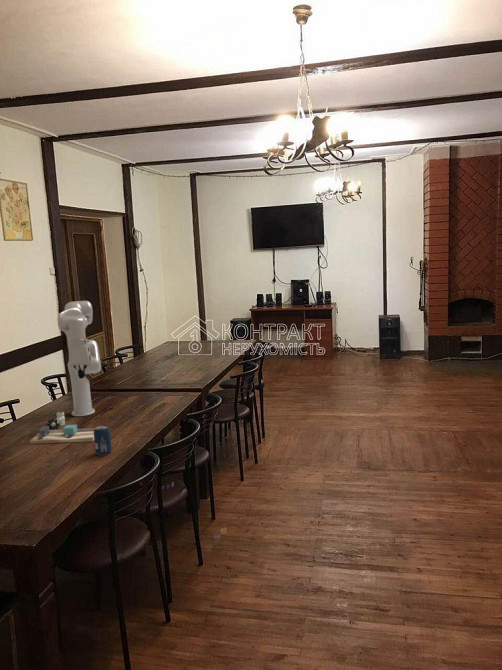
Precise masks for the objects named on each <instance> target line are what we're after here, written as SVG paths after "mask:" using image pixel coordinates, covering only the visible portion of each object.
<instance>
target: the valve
mask: <svg viewBox="0 0 502 670" xmlns="http://www.w3.org/2000/svg"><path fill="white" fill-rule="evenodd" d="M47 426H49V430H60V427H59V426H61V427H62V426H66V417H65V411H58V412H56V418H55V419H54V417H52V418H51V419H48V420H47V423H46V427H47Z"/></svg>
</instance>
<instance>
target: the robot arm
mask: <svg viewBox="0 0 502 670" xmlns="http://www.w3.org/2000/svg"><path fill="white" fill-rule="evenodd" d="M93 312H94V311H93V305H92V303H91V302H90V301H88V300H77V301H69V302H67V303H66V304H65V306H64V310H63V311H61V312H60V313H59V314H58V315H57V327H58V329H59V330H60V331H62V332H64V334H65V336H66V339H67V347H68V362H67V369H68V372H69V377H70V383H71V393H72V401H73V410H72V412H71V415H72V416H73V417H84V416H89V415H93V414H94V413H96V409H95V408H93V406H92V405H93V402H92V397H91V389H90V388H91V387H90V386H91V383H90V380H89V379H88V378H87V377H86V375H90V374H96V373H100V371H101V370H102V362H101V357H100V349H99V345H98V343H97V341H96V340H94V339H87V337H86V328H87V327H88V325H91V324H92V323H93Z"/></svg>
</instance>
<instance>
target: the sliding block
mask: <svg viewBox="0 0 502 670" xmlns="http://www.w3.org/2000/svg"><path fill="white" fill-rule="evenodd" d="M77 429H78V424H65V425H64V426H63V428H62V430H63V433H64V435H66V437H68V435H74V434H75V433H76V432H78V431H77Z"/></svg>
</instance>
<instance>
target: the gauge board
mask: <svg viewBox="0 0 502 670" xmlns="http://www.w3.org/2000/svg"><path fill="white" fill-rule="evenodd" d="M94 430H95V427H94V428H77V431H78V432H76V433H75V434H74V435H68V437H66V435H64V433H63V429H55V430H52V429H50V430H49V426H47V425H46V426H42V427H40V428H39V429H38V433H37V434H36V435H35V436H34V437H33V438H31V439H30V440H29V444H30V445H33V444H34V445H35V444H54V443H56V444H57V443H59V444H60V443H61V444H62V443H84V442H86V443H87V442H94Z"/></svg>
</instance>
